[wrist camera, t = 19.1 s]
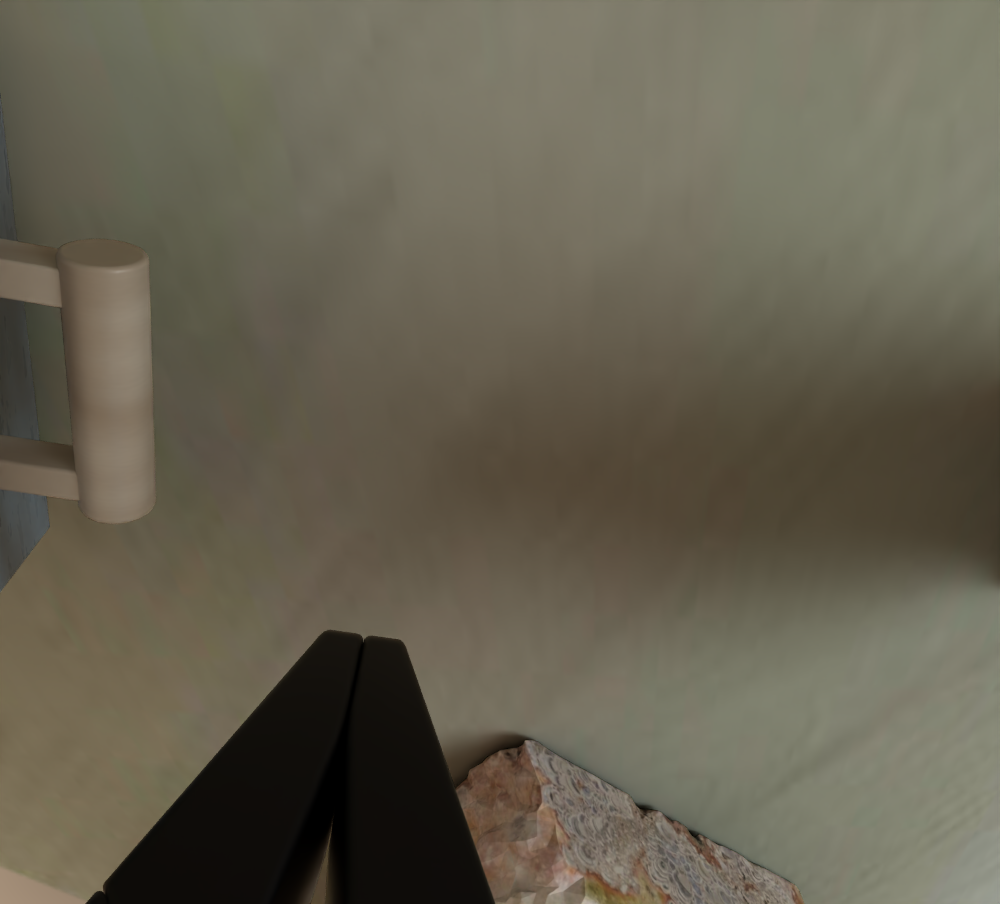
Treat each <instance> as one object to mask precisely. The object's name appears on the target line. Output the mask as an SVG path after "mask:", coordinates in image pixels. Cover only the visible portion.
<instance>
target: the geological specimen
mask: <svg viewBox="0 0 1000 904" xmlns="http://www.w3.org/2000/svg"><path fill="white" fill-rule="evenodd" d="M455 789H456V792H457V795H458V798H459V801H460V803H461V806H462V809H463V812H464V815H465V818H466V821H467V823H468V826H469V829H470V832H471V835H472V838H473V841H474V843H475V846H476V849H477V852H478V855H479V858H480V861H481V864H482V866H483V869H484V872H485V875H486V878H487V881H488V884H489V886H490V889H491V892H492V895H493V898H494V901H495V904H804V901H803V899H802V896H801V894H800V891H799V890H798V888H797V887H796V886H795V885H794V884H792V883H791V882H789V881H787V880H785V879H783V878H781V877H779V876H778V875H776V874H774V873H772V872H770V871H769V870H767V869H765V868H762V867H760V866H758V865H756V864H753V863H751V862H749V861H747V860H746V859H745V858H744V857H743V856H742V855H740V854H738V853H736V852H734V851H732V850H730V849H728V848H726V847H724V846H718V845H717V844H715V843H714V842H712V841H711V840H709V839H708V838H706V837H704V836H702V835H700V834H699V835H698V836H697V837H696V838H694V837H693V836H692V835H691V834H690V833H689V831H688V829H687V828H686V826H684V825H682V824H681V823H679V822H678V821H672V820H669V819H668V818H667V817H666V816H665V815H664V814H663V813H661V812H659V811H658V810H641V809H639V808H638V807H637V806H636V805H635V803H634V801H633V799H632V797H631V796H630V795H629V794H627V793H625V792H623V791H621V790H619V789H617V788H615V787H613V786H611V785H609V784H608V783H606V782H605V781H603V780H601V779H599V778H598V777H596V776H594V775H592V774H591V773H589V772H587V771H585V770H583V769H581V768H579V767H578V766H576V765H574V764H572V763H570V762H569V761H567V760H565V759H563V758H561V757H560V756H558V755H556V754H555V753H553V752H551V751H550V750H548V749H547V748H545V747H544V746H543V745H541V744H540V743H539V742H537V741H534V740H525V742H524V744H523V745H522V746H520V747H518V748H512V749H506V750H500V751H499V752H497V753H495V754H493V755H491V756H489V757H487V758H486V759H485V760H484V762H483V763H481V764H479V765H478V766H476V767H474V768H472V769H470V770H469V774H468V778H467V779H466V780H464V781H463V782H462V783H461V784H460V785H459V786H458V787H457V788H455Z"/></svg>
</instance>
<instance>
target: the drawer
mask: <svg viewBox="0 0 1000 904" xmlns="http://www.w3.org/2000/svg"><path fill="white" fill-rule="evenodd" d="M24 302H30V303H35V304H41V305H47V306H53V307H59V308H61V319H62V330H63V341H64V352H65V363H66V374H67V385H68V396H69V408H70V419H71V430H72V441H73V446H71V445H64V444H58V443H51V442H45V441H40V437H39V428H38V419H37V410H36V402H35V393H34V384H33V375H32V367H31V358H30V349H29V340H28V332H27V323H26V314H25V305H24ZM46 496H48V497H55V498H61V499H68V500H75V501H78V506H79V508H80V510H81V511H82V513H83V514H84V515H85V516H86V517H88V518H89V519H91V520H94V521H96V522H100V523H106V524H121V523H128V522H132V521H135V520H138V519H140V518H142V517H144V516H145V515H147V514H148V513H149V512H150V511H151V510H152V509H153V507H154V505H155V503H156V474H155V440H154V406H153V372H152V338H151V305H150V271H149V258H148V256H147V254H146V252H145V251H144V250H143V249H141V248H139V247H137V246H135V245H132V244H129V243H126V242H121V241H116V240H109V239H85V240H77V241H73V242H69V243H66V244H64V245H62V246H61V247H60V248H59V249H57V248H51V247H46V246H40V245H34V244H29V243H23V242H18V241H17V235H16V227H15V218H14V209H13V200H12V192H11V183H10V174H9V165H8V157H7V148H6V139H5V130H4V122H3V113H2V104H1V95H0V592H1V591H2V589H3V588H4V587H5V585H6V584H7V583H8V581H9V580H10V579H11V577H12V576H13V575H14V574H15V572H16V571H17V570H18V568H19V567H20V566H21V564H22V563H23V562H24V560H25V559H26V558H27V556H28V555H29V554H30V552H31V551H32V550H33V549H34V547H35V546H36V545H37V543H38V542H39V541H40V539H41V538H42V537H43V535H44V534H45V533H46V531H47V530H48V529H49V527H50V524H49V515H48V507H47V498H46Z"/></svg>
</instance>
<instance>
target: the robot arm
mask: <svg viewBox="0 0 1000 904" xmlns="http://www.w3.org/2000/svg"><path fill="white" fill-rule="evenodd" d="M333 816H334V817H333ZM332 822H333V824H332ZM331 827H332V831H331ZM330 832H331V838H330V845H329V855H328V866H327V879H326V896H325V904H495V901H494V898H493V895H492V892H491V889H490V886H489V884H488V881H487V878H486V875H485V872H484V869H483V866H482V864H481V861H480V858H479V855H478V852H477V849H476V846H475V843H474V841H473V838H472V835H471V832H470V829H469V826H468V823H467V821H466V818H465V815H464V812H463V809H462V806H461V803H460V801H459V798H458V795H457V792H456V789H455V786H454V783H453V780H452V778H451V775H450V772H449V769H448V766H447V763H446V760H445V758H444V755H443V752H442V749H441V746H440V743H439V740H438V738H437V735H436V732H435V729H434V726H433V723H432V720H431V717H430V715H429V712H428V709H427V706H426V703H425V700H424V697H423V695H422V692H421V689H420V686H419V683H418V680H417V677H416V675H415V672H414V669H413V666H412V663H411V660H410V657H409V655H408V652H407V649H406V646H405V645H404V643H403V642H402V641H401V640H398V639H392V638H385V637H378V636H368V637H366V638H365V639H364V642H363V638H362V636H361V635H360V634H356V633H349V632H342V631H335V630H327V631H324V632H323V633H322V634H321V635H320V636H319V637H318V638H317V639H316V640H315V641H314V643H313V644H312V645H311V646H310V647H309V648H308V649H307V651H306V652H305V653H304V654H303V655H302V656H301V657H300V659H299V660H298V661H297V662H296V663H295V664H294V666H293V667H292V668H291V669H290V670H289V671H288V672H287V674H286V675H285V676H284V677H283V678H282V679H281V680H280V682H279V683H278V684H277V685H276V686H275V687H274V689H273V690H272V691H271V692H270V693H269V694H268V695H267V697H266V698H265V699H264V700H263V701H262V702H261V703H260V705H259V706H258V707H257V708H256V709H255V710H254V711H253V713H252V714H251V715H250V716H249V717H248V718H247V720H246V721H245V722H244V723H243V724H242V725H241V726H240V728H239V729H238V730H237V731H236V732H235V733H234V734H233V736H232V737H231V738H230V739H229V740H228V741H227V742H226V744H225V745H224V746H223V747H222V748H221V749H220V751H219V752H218V753H217V754H216V755H215V756H214V757H213V759H212V760H211V761H210V762H209V763H208V764H207V765H206V767H205V768H204V769H203V770H202V771H201V772H200V774H199V775H198V776H197V777H196V778H195V779H194V780H193V782H192V783H191V784H190V785H189V786H188V787H187V788H186V790H185V791H184V792H183V793H182V794H181V795H180V796H179V798H178V799H177V800H176V801H175V802H174V803H173V805H172V806H171V807H170V808H169V809H168V810H167V811H166V813H165V814H164V815H163V816H162V817H161V818H160V819H159V821H158V822H157V823H156V824H155V825H154V826H153V827H152V829H151V830H150V831H149V832H148V833H147V834H146V836H145V837H144V838H143V839H142V840H141V841H140V842H139V844H138V845H137V846H136V847H135V848H134V849H133V850H132V852H131V853H130V854H129V855H128V856H127V857H126V858H125V860H124V861H123V862H122V863H121V864H120V865H119V867H118V868H117V869H116V870H115V871H114V872H113V873H112V875H111V876H110V877H109V878H108V879H107V880H106V881H105V883H104V885H103V892H102V891H97V892H96V893H95V894H94V895H93V896H92V897H91V898H90V899H89V900H88V902H87V903H86V904H311V901H312V898H313V894H314V891H315V888H316V884H317V881H318V878H319V875H320V871H321V868H322V864H323V861H324V857H325V853H326V850H327V846H328V841H329V836H330Z"/></svg>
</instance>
